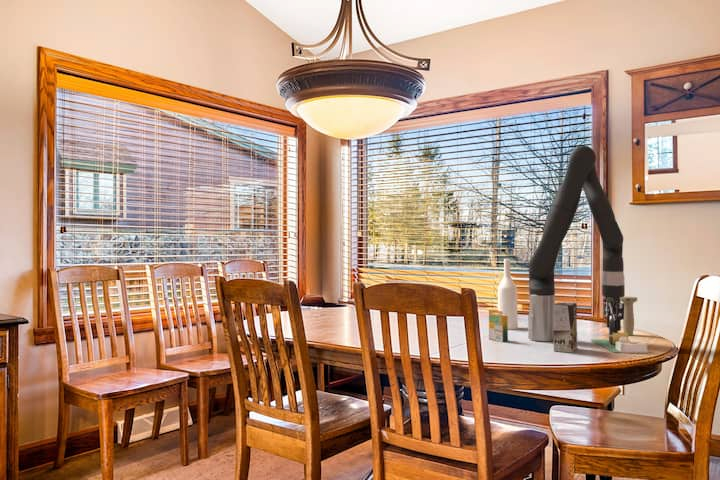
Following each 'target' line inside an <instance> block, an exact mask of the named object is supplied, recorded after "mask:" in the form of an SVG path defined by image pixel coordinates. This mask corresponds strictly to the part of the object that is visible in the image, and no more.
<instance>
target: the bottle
mask: <svg viewBox="0 0 720 480" xmlns="http://www.w3.org/2000/svg"><path fill="white" fill-rule="evenodd" d="M511 276H512V275H511V258H504V259H503V278H502V280H501V282H500V283H499V285H498V287H497V309H498V310H497V311H502V315H505V316H508V331H510V330H518V327H519V325H518V287H517V285H516V284H515V283H516V282H514V281H513V278H512V277H511ZM497 314H499V313H498V312H497Z"/></svg>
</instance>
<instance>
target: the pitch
mask: <svg viewBox="0 0 720 480" xmlns="http://www.w3.org/2000/svg"><path fill="white" fill-rule="evenodd" d="M591 341H592V343H595V344H597V345H599V346H600V347H602V348H604V349H606V350H608V351H610V352H611V353H613V354H626V353H625V352H624V353H622V352H620V351H618V350H617V349H616V344H615V345H611V344H609V339H591ZM629 354H634V353H633V352H632V353H631V352H630V353H629ZM635 354H647V353H646V352H645V353H644V352H643V353H641V352H640V353H639V352H638V353H637V352H636V353H635Z"/></svg>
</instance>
